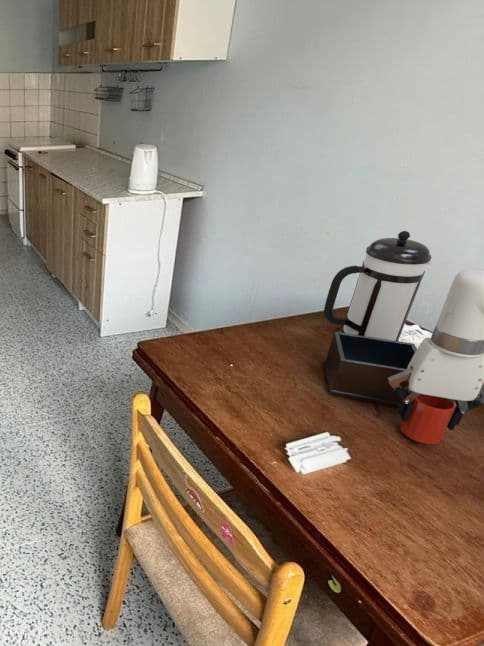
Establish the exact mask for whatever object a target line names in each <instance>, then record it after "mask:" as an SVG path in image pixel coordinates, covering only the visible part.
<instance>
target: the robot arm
mask: <svg viewBox="0 0 484 646" xmlns="http://www.w3.org/2000/svg"><path fill="white" fill-rule="evenodd" d="M387 380H388V382H389V384H390V385H391V387H392V388H393V389H394V390H395V391H396V393H397V394H398V395H399V396H400V398H401V401H400V403H399V406H398V407H397V410H396V412H397V414H398V415H399V416H400V419H401V422H402V421H407V420H408V418H409V415H410V413H411V410H412V408H413V404H412V401H413V400H414V399H416V398H417V397H418V396H419V395H420V394H424V395H430V396H436V397H442V398H448V399H452V400H453V401H454V402H455V404H456V408H455V410H454V412H453V415H452V417H451V419H450V421H449V424H448V426H447V428H446V429H448V430H449V431H454V430H455V428H456V426H458V425H460V422H461V420H462V418H463V416H464V415H465V414H468V413H469V411H470V410H474V409H476V408H479V407H481V406H482V405H484V269H483V268H468V269H467V268H466V269H463V270H461V271H459V272H458V273H457V274H456V275H455V276H454V278H453V280H452V283H451V285H450V288H449V290H448V293H447V295H446V297H445V301H444V303H443V306H442V309H441V310H440V313H439V316H438V318H437V321H436V323H435V326H434V329H433V332H432V334H431V336H430V337H425V338H424V339H423V340H422V341H421V342H420V344H419V346H418V347H417V350H416V352H415V354H414V355H413V357H412V359H411V361H410V363H409V365H408V367H407V369H406V371H403V372H401V373H398V374H396V375H393V376H391V377H389V378H388V379H387ZM403 381H408V382H409V385H408V386H407V387H406V388H405V389H404V388H403V387H402V386H401V385H400V383H401V382H403Z"/></svg>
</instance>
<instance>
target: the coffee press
mask: <svg viewBox="0 0 484 646" xmlns="http://www.w3.org/2000/svg"><path fill="white" fill-rule="evenodd" d="M410 237H411V234H410V232H409V231H408V230H402V231H400V232H399V233H398V234H397V237H384V238H379V239H376V240H374V241H372V242H371V243H370V245H368V246H366V249H365V254H366V255H365V258H364V261H362V265H361V266H360V265H359V266H358V265H349V266H346V267H344V268H342V269H340V270H339V271H338V272H337V273H336V274H335V275H334V277H333V278H332V281H331V283H330V287H329V290H328V294H327V297H326V299H325V303H324V308H323V315H324V318H325V319H326V320H327V321H328V322H329V323H331V324H334V325H339V327H337V329H336V332H340V333H347V334H353V335H360V336H366V337H373V338H380V339H386V340H393V341H400V338H401V335H402V333H403V330H404V327H405V324H406V322H407V319H408V317H409V314H410V312H411V309H412V307H413V305H414V304H413V303H414V302H415V299H416V296H417V295H418V294H417V293H418V291H419V288H420V285H421V282H422V281H423V278H424V275H425V273H426V270H425V269H426V267H427V265H431V264H432V255H431V253H430V249H429V248H428V247H427V246H426V245H425V244H423V243H421V242H419V241H416V240H412V239H409V238H410ZM354 274H359V275H358V278H357V282H356V285H355V287H354V291H353V294H352V297H351V300H350V303H349V307H348V310H347V313H346V315H345V317H337V316H334V313H333V311H334V308H335V304H336V300H337V298H338V297H337V296H338V293H339V290H340V287H341V284H342V283H343V281H344V279H345V278H346V277H347V276H350V275H354ZM341 328H343V330H341Z"/></svg>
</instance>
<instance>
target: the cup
mask: <svg viewBox="0 0 484 646" xmlns="http://www.w3.org/2000/svg"><path fill="white" fill-rule="evenodd" d="M412 404H413V408H412V410H411V413H410V415H409V418H408V420H407V421H402V420H401V423H400V427H399V429H400V431H401V433H402V434H403V435H404V436H406V437H407V438H409V439H411V440H413V441H415V442H417V443H421V444H425V445H436V444H439V443H440V442H441V441H442V439H443V436H444V434H445V433H446V430H447V429H448V428H447V426H448V424H449V421H450V419H451V417H452V415H453V412H454V410H455V408H456V404H455V400H454V399H448V398H442V397H436V396H430V395H424V394H420V395H419V396H418V397H417V398H416V399H414V400H413V401H412Z"/></svg>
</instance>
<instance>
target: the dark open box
mask: <svg viewBox="0 0 484 646" xmlns="http://www.w3.org/2000/svg"><path fill="white" fill-rule="evenodd" d="M329 345H330V346H329V349H328V353H327V355H326V358H325V361H324V366H325V373H326V378H327V384H328V385H327V386H328V390H329V391H328V392H329V394H330V395H334V396H340V397H345V398H349V399H355V400H359V401H366V402H370V403H376V404H380V405H385V406H390V407H396V408H398V406H399V403H400V401H401V398H400V396H399V395H398V394H397V393H396V391H395V390H394V389H393V388H392V387H391V385H390V384H389V382H388V380H387V379H388V378H389V377H391V376H393V375H396V374H398V373H401V372H403V371H406V369H407V367H408V365H409V363H410V361H411V359H412V357H413V355H414V354H415V352H416V350H417V349H418V347H417V346H416V344H415V343H412V342H407V341H400V340H399V341H393V340H386V339H380V338H373V337H366V336H360V335H353V334H347V333H345V332H343V333H340V332H337V331H334V333H333V336H332V339H331V343H330V344H329ZM400 385H401V386H402V387H403V388H404V389H405V388H406V387H407V386H408V385H409V382H408V381H403V382H401V383H400Z"/></svg>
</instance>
